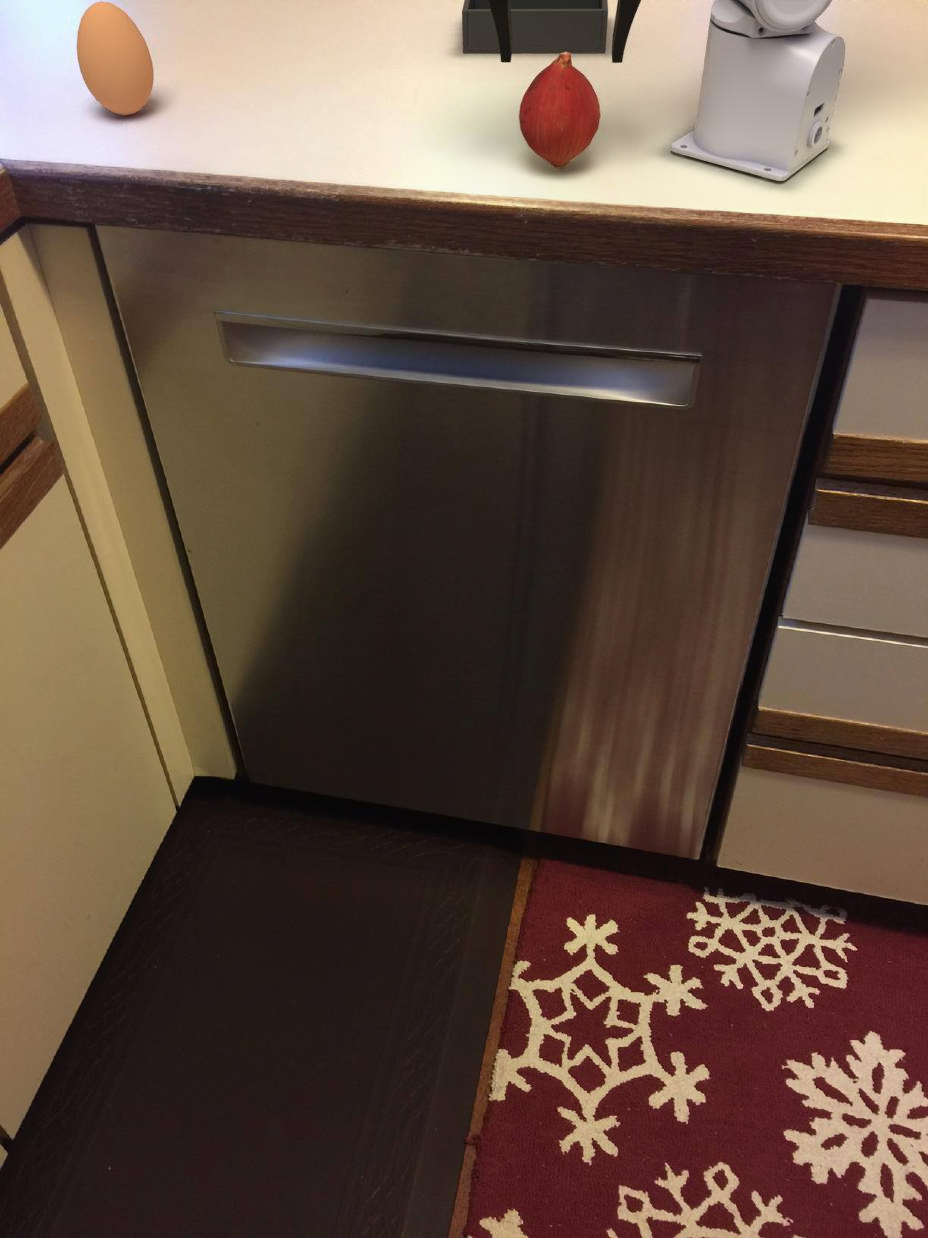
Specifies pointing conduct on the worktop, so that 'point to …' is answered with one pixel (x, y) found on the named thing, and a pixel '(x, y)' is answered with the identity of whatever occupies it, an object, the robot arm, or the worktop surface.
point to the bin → (538, 26)
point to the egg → (114, 59)
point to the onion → (559, 112)
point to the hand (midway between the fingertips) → (561, 57)
